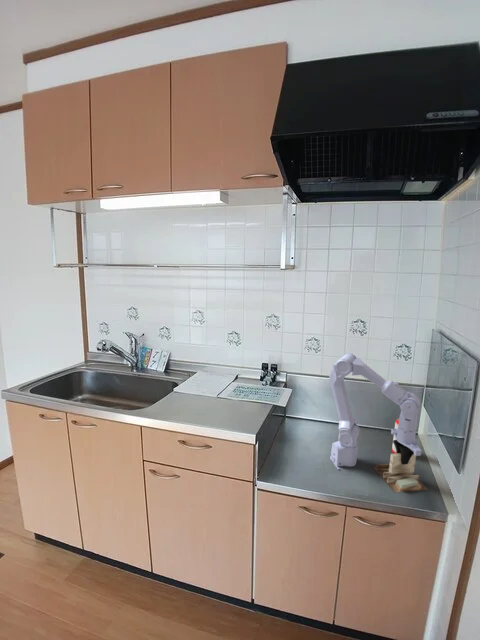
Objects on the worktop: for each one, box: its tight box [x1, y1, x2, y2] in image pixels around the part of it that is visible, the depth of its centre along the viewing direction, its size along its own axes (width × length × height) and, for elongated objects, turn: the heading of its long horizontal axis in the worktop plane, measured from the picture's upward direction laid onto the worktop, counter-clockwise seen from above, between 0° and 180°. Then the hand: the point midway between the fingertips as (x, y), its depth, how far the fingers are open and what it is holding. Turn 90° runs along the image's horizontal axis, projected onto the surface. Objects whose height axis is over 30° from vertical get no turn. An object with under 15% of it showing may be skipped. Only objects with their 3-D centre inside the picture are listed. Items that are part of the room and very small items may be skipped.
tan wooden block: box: [388, 453, 417, 474], centre depth 122 cm, size 9×2×7 cm, turn 98°
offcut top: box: [396, 477, 418, 488], centre depth 118 cm, size 7×3×1 cm, turn 106°
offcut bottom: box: [395, 482, 421, 491], centre depth 118 cm, size 8×3×1 cm, turn 98°
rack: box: [373, 463, 429, 493], centre depth 123 cm, size 13×14×3 cm
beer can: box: [391, 416, 400, 454], centre depth 138 cm, size 6×6×16 cm
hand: (402, 461), depth 121 cm, fingers closed on tan wooden block, 2 cm apart
